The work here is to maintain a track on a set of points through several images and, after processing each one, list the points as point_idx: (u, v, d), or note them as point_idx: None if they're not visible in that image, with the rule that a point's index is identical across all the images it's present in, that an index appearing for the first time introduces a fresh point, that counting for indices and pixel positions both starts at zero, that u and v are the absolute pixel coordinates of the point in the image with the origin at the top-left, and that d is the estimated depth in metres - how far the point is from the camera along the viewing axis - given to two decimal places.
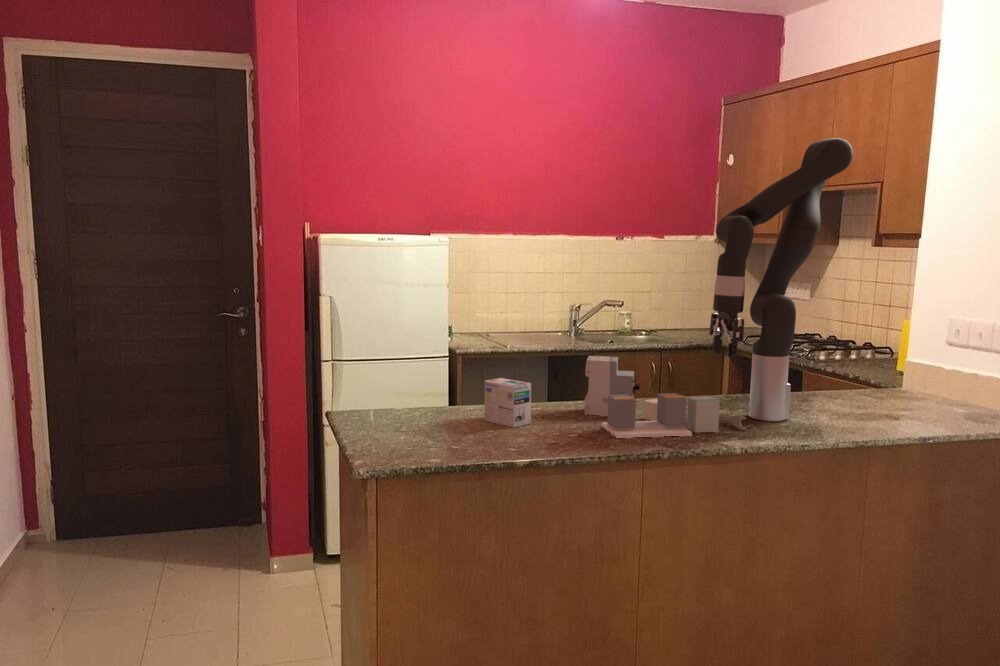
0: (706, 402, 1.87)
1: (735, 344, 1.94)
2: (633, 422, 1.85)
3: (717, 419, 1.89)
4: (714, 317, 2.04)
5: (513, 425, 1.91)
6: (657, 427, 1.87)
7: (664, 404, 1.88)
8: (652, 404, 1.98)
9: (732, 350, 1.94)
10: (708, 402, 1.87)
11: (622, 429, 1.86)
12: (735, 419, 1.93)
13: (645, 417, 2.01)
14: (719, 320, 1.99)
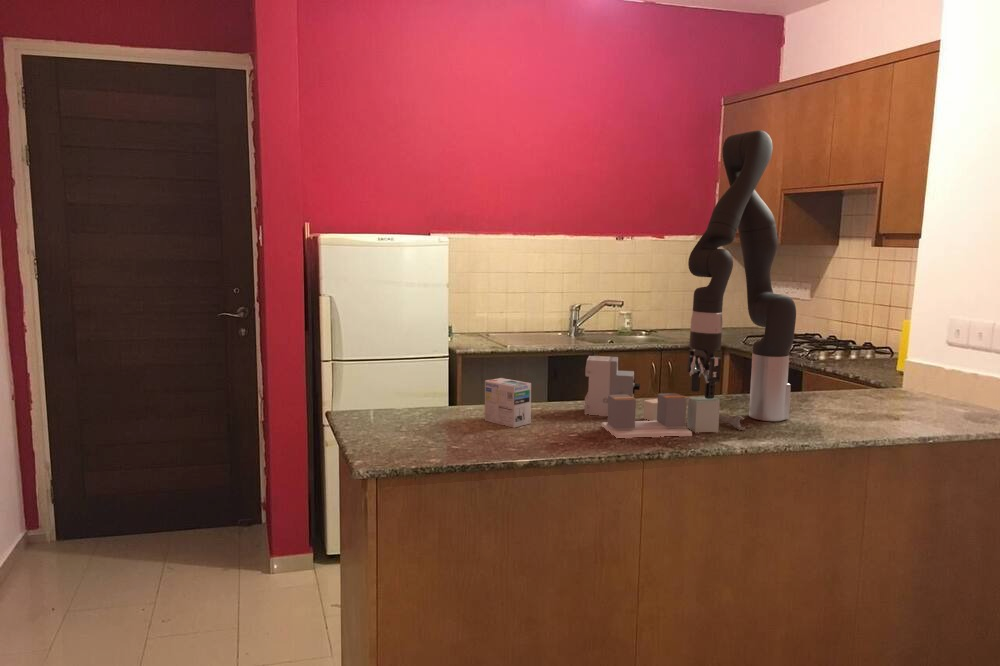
0: (706, 402, 1.87)
1: (712, 384, 1.84)
2: (633, 422, 1.85)
3: (717, 419, 1.89)
4: (691, 354, 1.94)
5: (513, 425, 1.91)
6: (657, 427, 1.87)
7: (664, 404, 1.88)
8: (652, 404, 1.98)
9: (709, 390, 1.84)
10: (708, 402, 1.87)
11: (622, 429, 1.86)
12: (734, 419, 1.93)
13: (645, 417, 2.01)
14: (696, 358, 1.89)
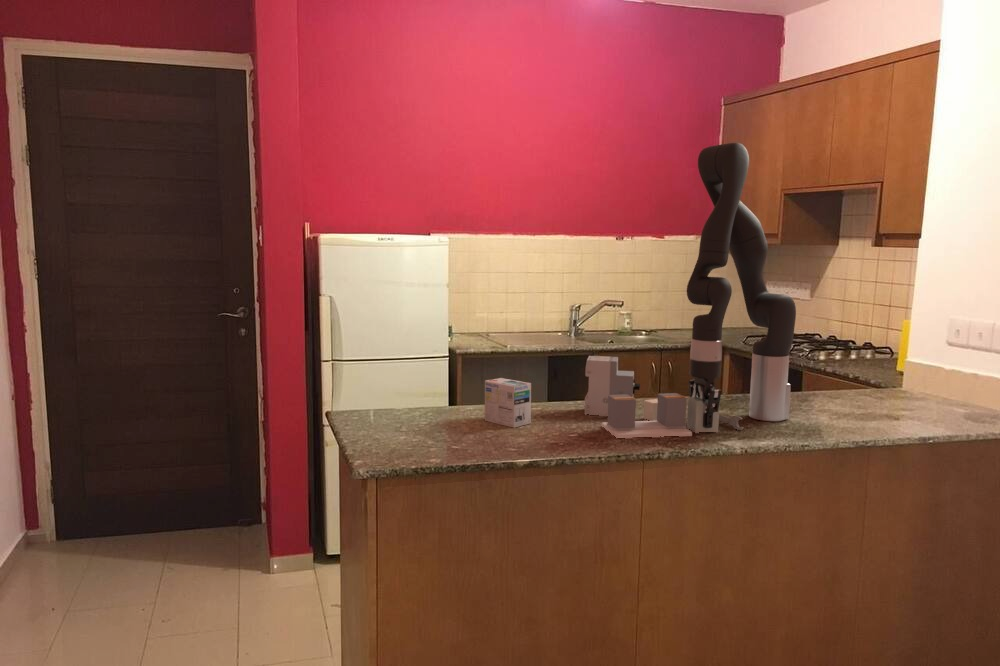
0: None
1: (710, 414, 1.86)
2: (633, 422, 1.85)
3: (717, 419, 1.88)
4: (692, 383, 1.95)
5: (513, 425, 1.91)
6: (657, 427, 1.87)
7: (664, 404, 1.88)
8: (652, 404, 1.98)
9: (707, 420, 1.87)
10: None
11: (622, 429, 1.86)
12: (732, 419, 1.93)
13: (645, 417, 2.01)
14: (696, 385, 1.90)
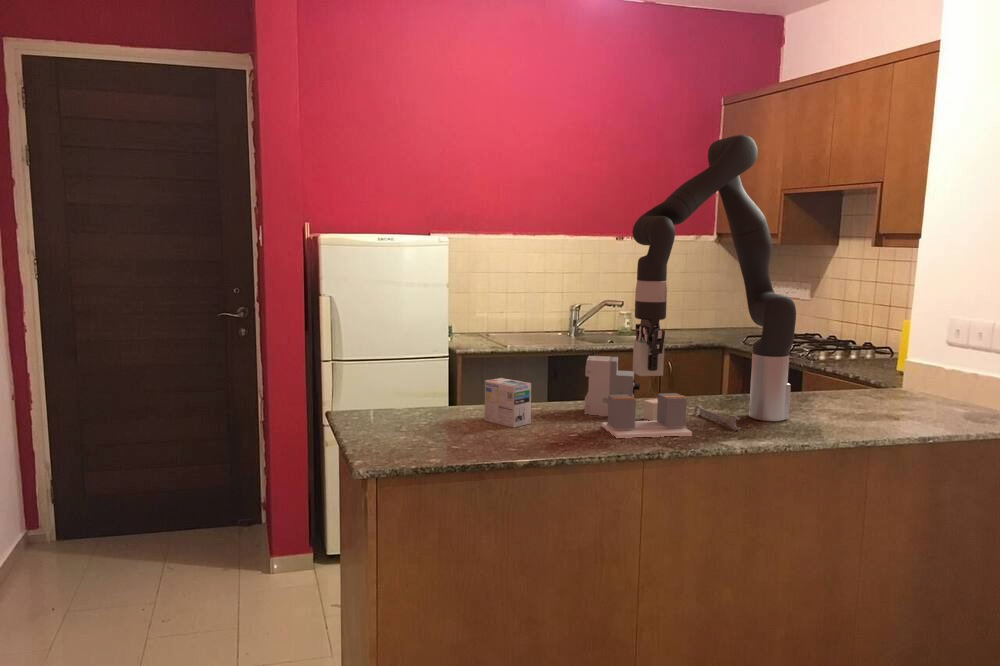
0: None
1: (655, 356, 1.83)
2: (633, 422, 1.85)
3: (662, 362, 1.85)
4: (638, 327, 1.91)
5: (513, 425, 1.91)
6: (657, 427, 1.87)
7: (664, 404, 1.88)
8: (652, 404, 1.98)
9: (652, 362, 1.83)
10: None
11: (622, 429, 1.86)
12: (730, 419, 1.93)
13: (645, 417, 2.01)
14: (641, 327, 1.87)
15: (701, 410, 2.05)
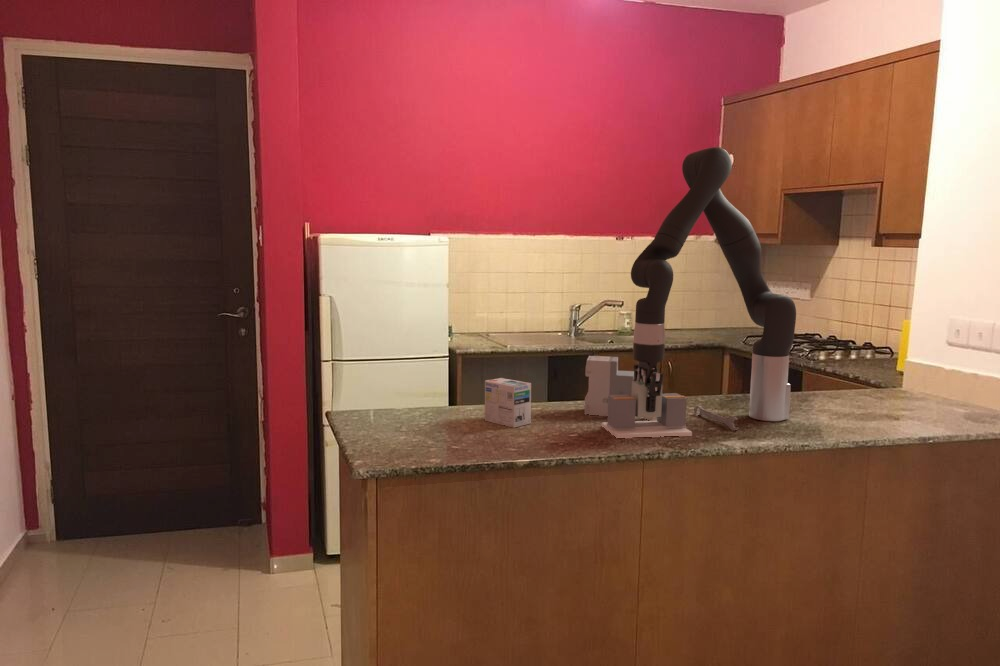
0: None
1: (653, 398, 1.84)
2: (633, 422, 1.85)
3: (660, 403, 1.86)
4: (637, 368, 1.93)
5: (513, 425, 1.91)
6: (657, 427, 1.87)
7: (664, 404, 1.88)
8: None
9: (650, 404, 1.85)
10: None
11: (622, 429, 1.86)
12: (728, 419, 1.93)
13: (645, 417, 2.01)
14: (640, 369, 1.88)
15: (701, 410, 2.05)
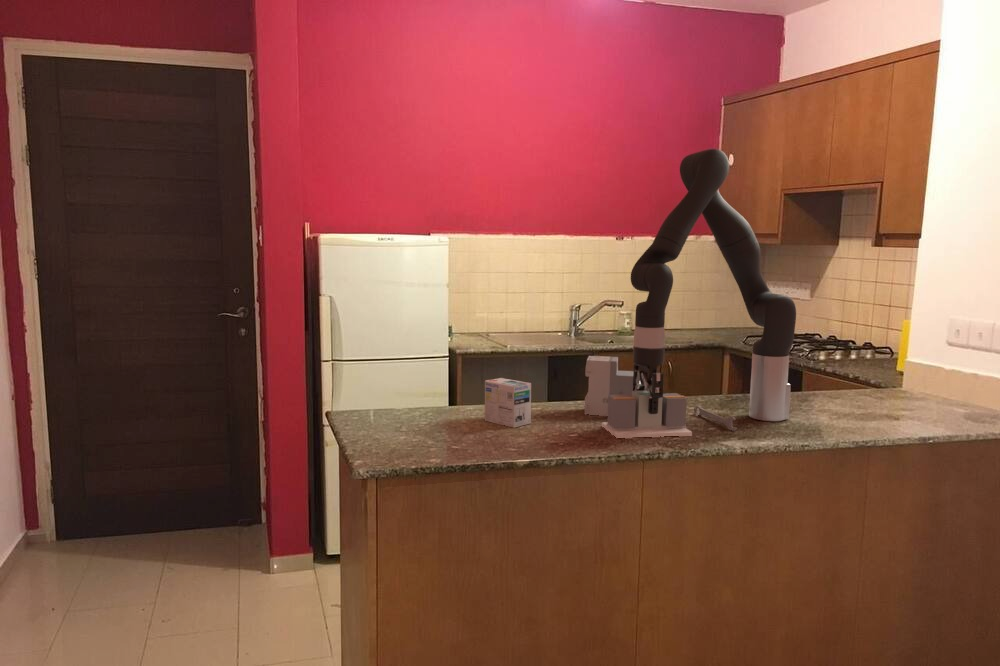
0: None
1: (655, 399, 1.83)
2: (633, 422, 1.85)
3: (660, 413, 1.87)
4: (636, 368, 1.93)
5: (513, 425, 1.91)
6: (657, 427, 1.87)
7: (664, 404, 1.88)
8: None
9: (652, 406, 1.83)
10: None
11: (622, 429, 1.86)
12: (727, 419, 1.93)
13: None
14: (640, 373, 1.88)
15: (700, 410, 2.05)
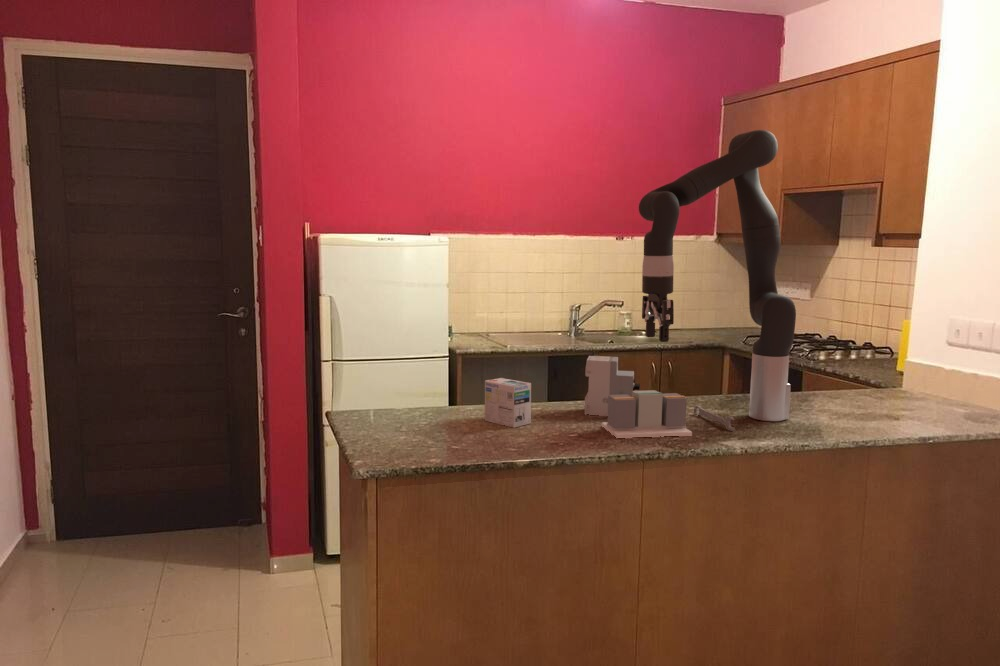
0: (649, 396, 1.86)
1: (666, 327, 1.85)
2: (633, 422, 1.85)
3: (660, 413, 1.87)
4: (645, 300, 1.94)
5: (513, 425, 1.91)
6: (657, 427, 1.87)
7: (664, 404, 1.88)
8: None
9: (663, 333, 1.85)
10: (651, 396, 1.86)
11: (622, 429, 1.86)
12: (725, 419, 1.92)
13: None
14: (649, 303, 1.89)
15: (700, 410, 2.05)
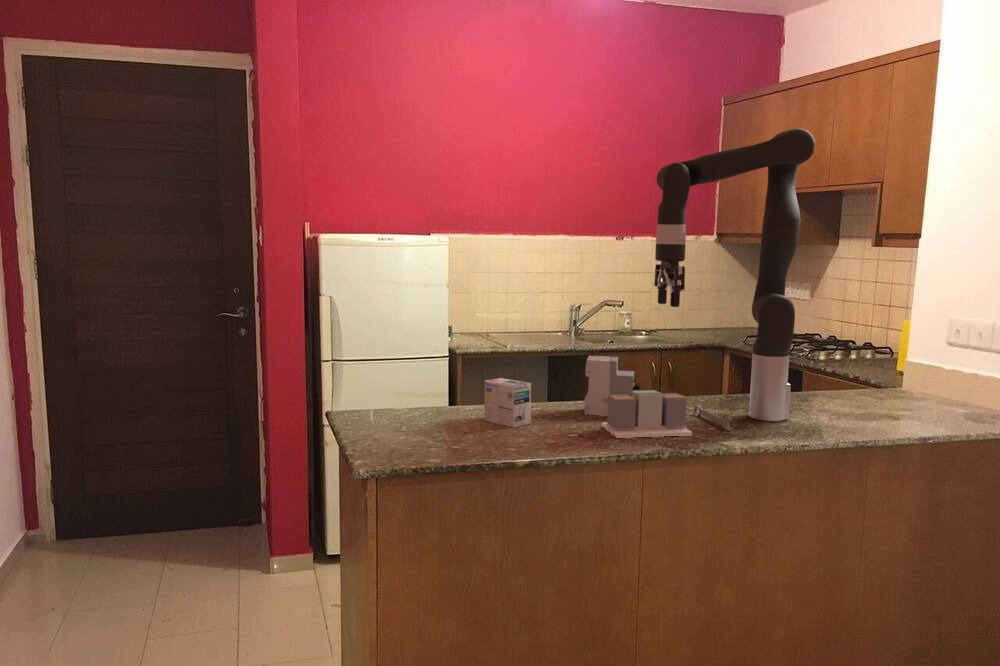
0: (649, 396, 1.86)
1: (677, 292, 1.93)
2: (633, 422, 1.85)
3: (660, 413, 1.87)
4: (658, 268, 2.03)
5: (513, 425, 1.91)
6: (657, 427, 1.87)
7: (664, 404, 1.88)
8: None
9: (674, 299, 1.93)
10: (651, 396, 1.86)
11: (622, 429, 1.86)
12: (723, 419, 1.92)
13: None
14: (662, 270, 1.98)
15: (700, 410, 2.05)
